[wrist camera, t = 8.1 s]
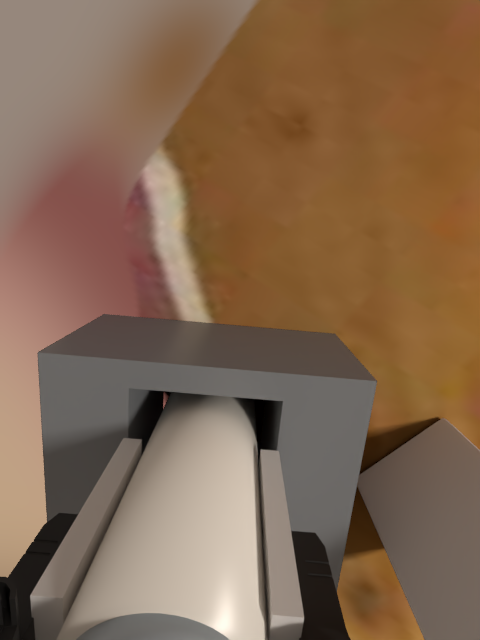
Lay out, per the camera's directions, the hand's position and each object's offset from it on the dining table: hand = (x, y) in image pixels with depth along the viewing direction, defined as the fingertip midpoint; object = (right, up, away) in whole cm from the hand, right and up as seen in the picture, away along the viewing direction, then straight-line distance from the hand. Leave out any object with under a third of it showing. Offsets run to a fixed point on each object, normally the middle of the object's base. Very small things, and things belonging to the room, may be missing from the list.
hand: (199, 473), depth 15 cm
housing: (0, -2, +9) cm, 9 cm away
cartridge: (0, +2, +8) cm, 8 cm away
